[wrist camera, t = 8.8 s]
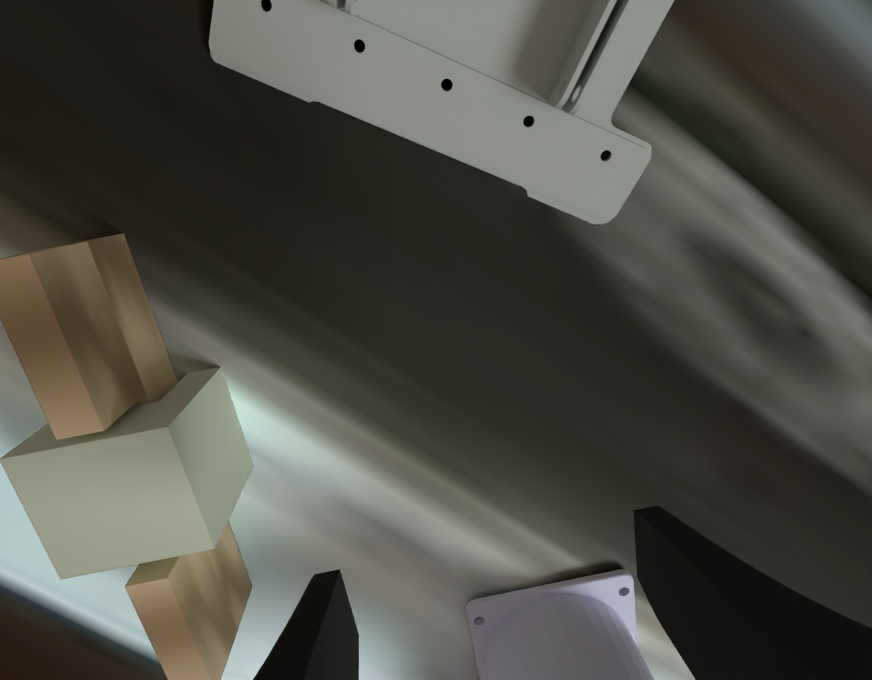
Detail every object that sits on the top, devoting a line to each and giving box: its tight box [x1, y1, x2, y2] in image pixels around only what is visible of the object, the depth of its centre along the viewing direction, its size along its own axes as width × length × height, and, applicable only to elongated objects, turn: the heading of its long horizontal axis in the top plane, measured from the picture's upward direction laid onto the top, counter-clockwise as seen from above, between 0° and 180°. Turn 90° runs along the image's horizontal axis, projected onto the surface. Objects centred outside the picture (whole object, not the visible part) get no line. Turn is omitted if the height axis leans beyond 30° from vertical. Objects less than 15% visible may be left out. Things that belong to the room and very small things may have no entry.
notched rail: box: [0, 233, 252, 680], centre depth 18 cm, size 16×1×5 cm, turn 10°
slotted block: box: [0, 367, 254, 579], centre depth 18 cm, size 4×5×5 cm
